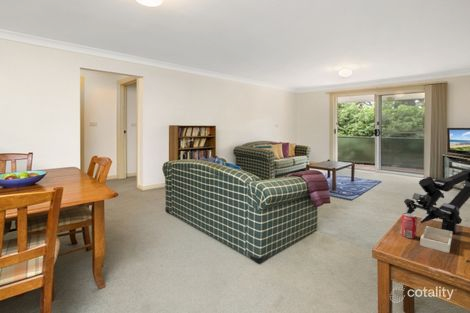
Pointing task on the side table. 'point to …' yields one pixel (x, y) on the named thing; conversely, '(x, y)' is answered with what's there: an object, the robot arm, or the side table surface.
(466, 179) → the robot arm
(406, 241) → the side table surface
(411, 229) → the soda can
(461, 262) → the side table surface
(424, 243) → the can carrier
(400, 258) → the side table surface
